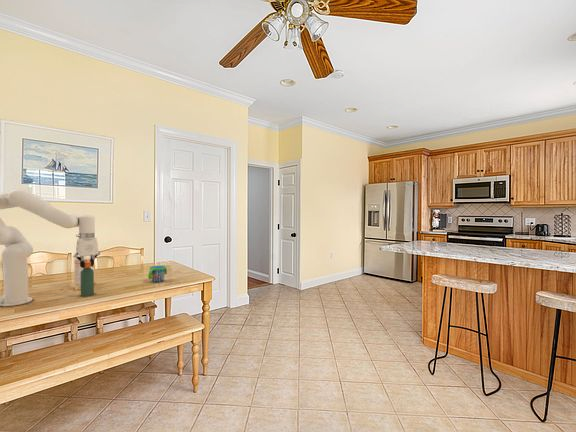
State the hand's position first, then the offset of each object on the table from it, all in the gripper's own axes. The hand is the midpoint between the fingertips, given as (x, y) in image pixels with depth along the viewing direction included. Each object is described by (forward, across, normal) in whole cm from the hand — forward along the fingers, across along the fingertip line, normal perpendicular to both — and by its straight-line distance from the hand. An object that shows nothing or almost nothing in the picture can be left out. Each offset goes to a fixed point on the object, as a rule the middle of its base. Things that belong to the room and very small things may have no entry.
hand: (87, 266), depth 165 cm
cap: (0, 0, 0) cm, 0 cm away
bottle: (+17, 0, 0) cm, 17 cm away
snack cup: (+17, +42, -3) cm, 45 cm away
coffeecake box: (+17, +6, +21) cm, 28 cm away
